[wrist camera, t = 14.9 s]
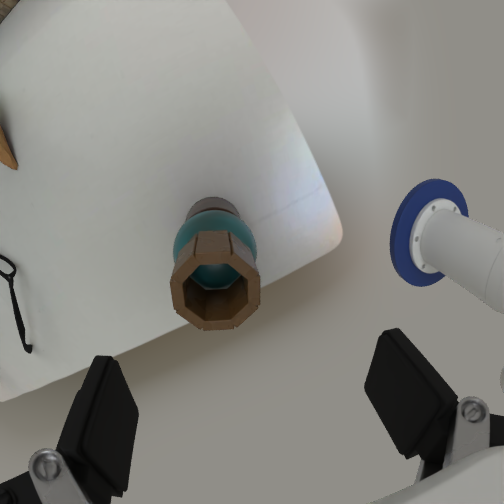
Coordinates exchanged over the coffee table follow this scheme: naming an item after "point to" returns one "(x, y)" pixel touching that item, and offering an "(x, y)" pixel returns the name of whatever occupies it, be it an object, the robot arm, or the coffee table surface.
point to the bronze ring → (216, 300)
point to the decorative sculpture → (6, 152)
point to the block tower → (6, 7)
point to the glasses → (15, 304)
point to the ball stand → (212, 219)
